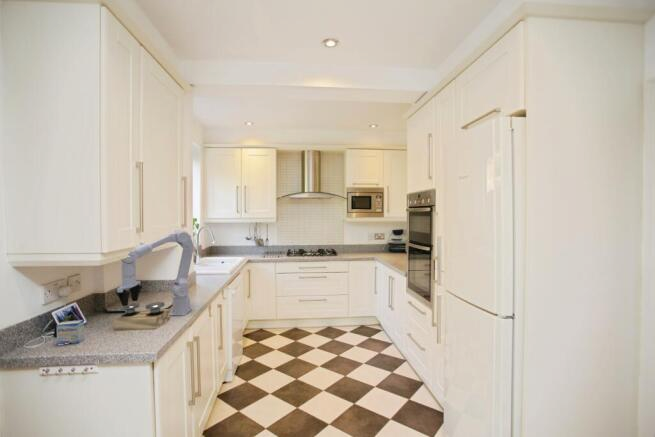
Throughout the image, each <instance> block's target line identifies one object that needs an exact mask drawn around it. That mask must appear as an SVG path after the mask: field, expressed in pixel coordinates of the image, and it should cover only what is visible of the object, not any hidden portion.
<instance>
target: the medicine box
mask: <svg viewBox="0 0 655 437" xmlns="http://www.w3.org/2000/svg"><path fill="white" fill-rule="evenodd" d="M84 323H85V320H84V319H78V320H69V321H61V322H60V323H57V325H56V345H57V344H65V343H77V344H80V343H81V342H83V341H82V340H85V324H84ZM79 342H80V343H79Z"/></svg>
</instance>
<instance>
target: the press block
mask: <svg viewBox="0 0 655 437" xmlns="http://www.w3.org/2000/svg"><path fill="white" fill-rule="evenodd" d="M170 314H171V313H170V308H162V309H161V308H160V314H159V315H151V310H150V309H135V315H132V316H125V313H123V314H121V315H119V316H117V317H115V318H114V319H113V327H114V328H113V330H114V331H126V330H127V331H128V330H132V331H134V330H135V331H136V330H156V329H157V327H158V328H160V327H161V326H162V325H163V324H165V323H166V322H167V321H169V320H170V316H171V315H170ZM160 325H161V326H160Z"/></svg>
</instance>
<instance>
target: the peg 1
mask: <svg viewBox="0 0 655 437" xmlns="http://www.w3.org/2000/svg"><path fill="white" fill-rule="evenodd" d="M140 306H141V303H140V302H128V305H127V306H122V304H121V305H120V306H119V309H120V310H122V311H125V313H124V314H125V316H132V315H135V310H136V309H137V308H139V307H140Z"/></svg>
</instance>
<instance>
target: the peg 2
mask: <svg viewBox="0 0 655 437" xmlns="http://www.w3.org/2000/svg"><path fill="white" fill-rule="evenodd" d="M163 307H165V302H163V301H156V302H150V303H148V304H145V310H151V315H159V314H160V309H161V308H163Z"/></svg>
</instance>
